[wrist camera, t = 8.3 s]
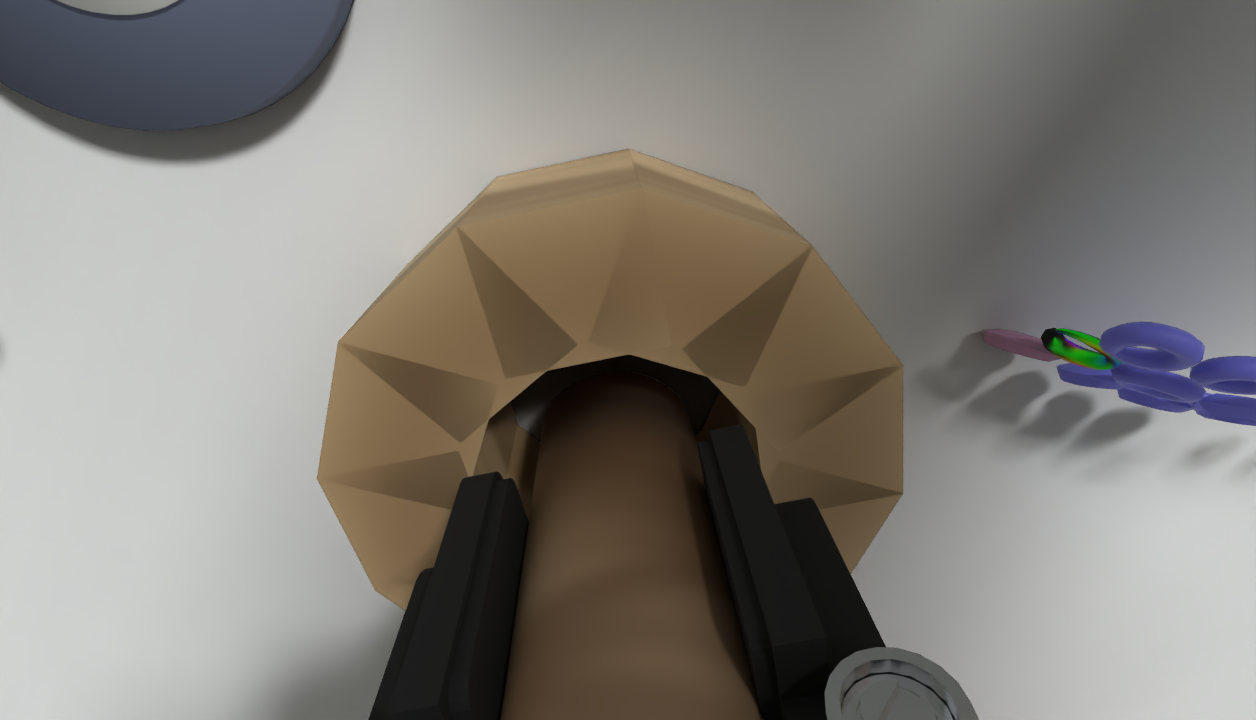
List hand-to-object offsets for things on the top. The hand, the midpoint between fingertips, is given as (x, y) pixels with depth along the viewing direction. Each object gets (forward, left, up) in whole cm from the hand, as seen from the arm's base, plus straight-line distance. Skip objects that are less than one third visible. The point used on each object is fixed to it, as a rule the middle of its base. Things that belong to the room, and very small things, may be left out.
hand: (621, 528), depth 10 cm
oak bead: (0, 0, -5) cm, 5 cm away
